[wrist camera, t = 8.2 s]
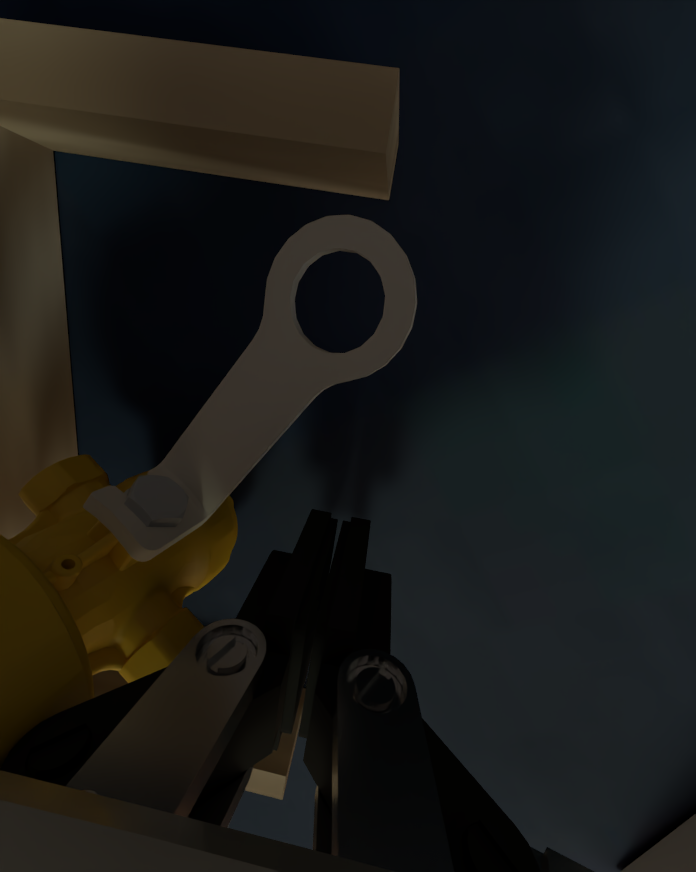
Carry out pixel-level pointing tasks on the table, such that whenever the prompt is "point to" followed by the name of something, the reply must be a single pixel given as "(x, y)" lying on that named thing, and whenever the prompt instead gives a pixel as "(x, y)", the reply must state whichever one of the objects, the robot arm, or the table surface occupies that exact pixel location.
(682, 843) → the milk carton
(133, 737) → the robot arm
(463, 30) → the table surface
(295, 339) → the pressure relief valve
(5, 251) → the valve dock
